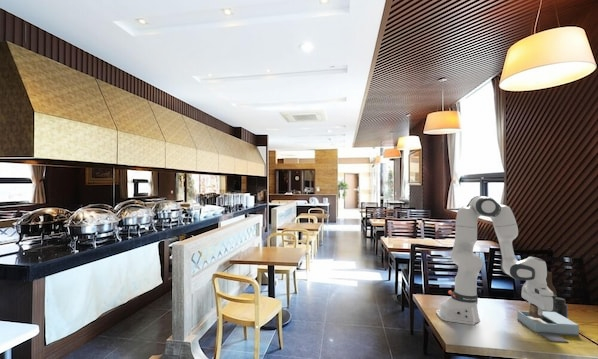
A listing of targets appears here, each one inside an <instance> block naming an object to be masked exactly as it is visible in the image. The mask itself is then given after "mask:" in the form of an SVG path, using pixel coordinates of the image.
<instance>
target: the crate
mask: <svg viewBox="0 0 598 359" xmlns="http://www.w3.org/2000/svg"><path fill="white" fill-rule="evenodd" d="M529 313H530V310H529V311H528V310H517V313H516V314H517V321H519V322H520V323H522V324H523V325H524V326H526V327H527V328H529V329H530V330H532V331H533V332H534V333H535V334H539V333H554V334H557V335H559V336H572V337H573V336H574V337H579V336H580V329H579V328H580V326H579V324H578V323H576V322H574V321H572V320H570V319H569V318H568V319H567V318H565V317H564V316H562V315H560V314H558V313H556V312H547V311H543V312H542V319H540V318H534V317H532V316H530V315H529Z"/></svg>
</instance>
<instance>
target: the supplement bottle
mask: <svg viewBox="0 0 598 359" xmlns="http://www.w3.org/2000/svg"><path fill="white" fill-rule="evenodd" d="M554 301H555V302H553V310H552V312H556V313H558V314H560V315H562V316H564V317H565V318H567V319H569V306H568V304H566V303H567V302H566V299H565V298H562V297H558V296H556V297H555V298H554Z"/></svg>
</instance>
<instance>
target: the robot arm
mask: <svg viewBox="0 0 598 359" xmlns="http://www.w3.org/2000/svg"><path fill="white" fill-rule="evenodd" d="M480 216H484V217H489V218H490V219H491V221H492V225H493V229H494V232H495V236H496V237H497V240H498V246H499V250H500V255H501V260H500V268H501V271H502V272H503V273H504V274H505V275H507V276H509V277H511V278H513V279H515V280H516V281H525V282H524V283H523V285H522V287H521V292H520V293H521V298H523V299H524V300H525V301H527V302H528V306H529V307H530V304H534V305H536V306H537V307H538V311H537V314H538V315H542V312H543V310H544V311H552V310H553V298H552V296H553V295H554V293H553V292H552V291H551V290H550V289H549V288H548V286H547V282H546V277H547V272H548V268H547V263H546V261H545V260H544V259H542V258H540V257H539V258H538V257H535V256H528V257H527V258H524V259H522V260H518V259H517V258H516V256H515V252H514V246H513V241H514V240H516V238H517V237H518V236H519V228H518V224H517V221H516V217H515V215H514V212H513V210H512V209H511V207H510V206H508V205H505V204H499V203H498V201H496V200H495V199H494V198H492V197H491V196H490V197H489V196H485V195H478V196H474V197H472V198H471V199H470V200H469V202H468V204H467V205H466V206H462V207H460V208H459V209H458V210H457V212H456V217H455V231H454V232H455V236H454V242H453V247H452V249H451V251H450V254H449V256H450V259H451V261H452V262H453V263H454V264H455V265H457V267H458V268H457V273H456V276H455V277H454V290H453V291H452V290H448V292H447V293H448V294H449V295H450V297H449V298H447V299H445V300H444V301H442V302H441V305H440V307H439V308H440V309H436V310H435V313H436V315H437V317H438V318H440V319H441V320H442V321H445V322H452V323H458V324H466V325H474V326H475V325H476V323H480V321H481V318H480V316H479V310H478V294H477V293H478V291H477V289H478V288H477V287H478V286H477V285H478V284H477V282H478V277H479V273H480V271H481V270H482V269H483V267H484V266H483V265H484V263H483V260H482V259H481V257H480V256H479V255H478V254H477V253H476V252H474V246H475V244H476V242H478V221H479V217H480Z"/></svg>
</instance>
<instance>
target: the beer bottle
mask: <svg viewBox="0 0 598 359" xmlns="http://www.w3.org/2000/svg"><path fill="white" fill-rule="evenodd" d="M546 282H547V286H548V288H549V289H550V290H551V291H552V292H553V293H554V295H553V296H552V298H553V302H555V301H554V298H555V297H557V290H556V287H555V286H554V284H553V272H551V271H547V277H546ZM543 311H544V310H543ZM547 312H552V311H547Z"/></svg>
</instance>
